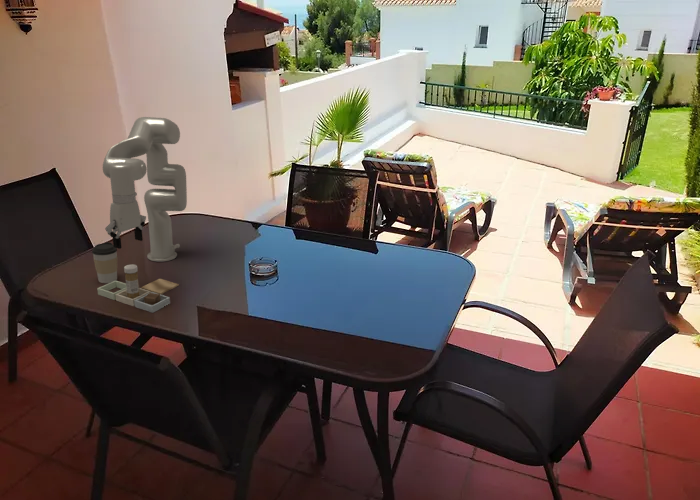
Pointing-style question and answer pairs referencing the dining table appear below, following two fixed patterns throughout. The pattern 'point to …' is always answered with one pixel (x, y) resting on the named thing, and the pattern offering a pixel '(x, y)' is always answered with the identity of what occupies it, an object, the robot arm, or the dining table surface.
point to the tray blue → (152, 308)
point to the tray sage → (105, 289)
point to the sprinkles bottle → (132, 281)
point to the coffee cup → (105, 262)
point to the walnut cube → (152, 298)
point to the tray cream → (124, 299)
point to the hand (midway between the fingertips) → (128, 243)
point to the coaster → (160, 286)
